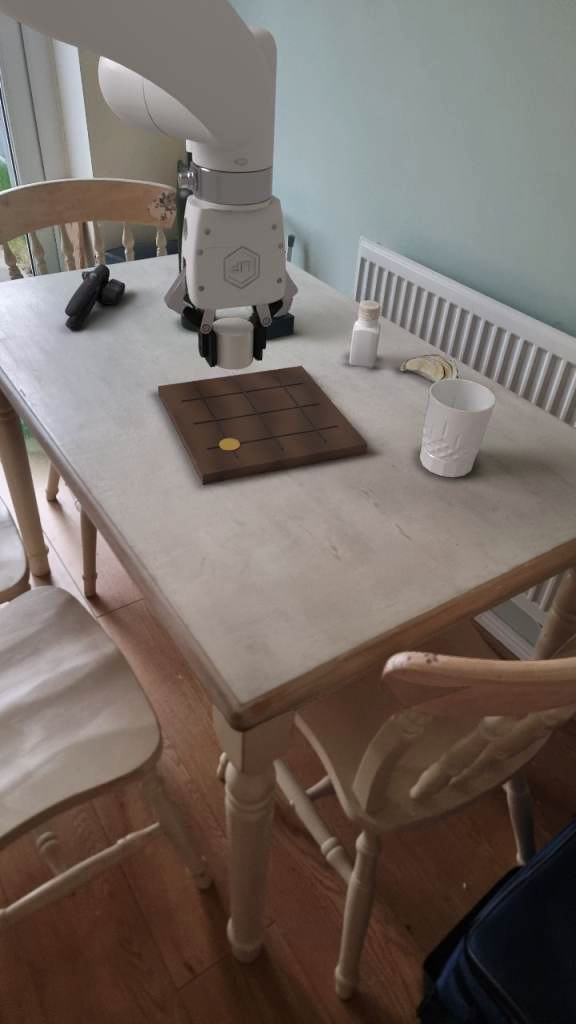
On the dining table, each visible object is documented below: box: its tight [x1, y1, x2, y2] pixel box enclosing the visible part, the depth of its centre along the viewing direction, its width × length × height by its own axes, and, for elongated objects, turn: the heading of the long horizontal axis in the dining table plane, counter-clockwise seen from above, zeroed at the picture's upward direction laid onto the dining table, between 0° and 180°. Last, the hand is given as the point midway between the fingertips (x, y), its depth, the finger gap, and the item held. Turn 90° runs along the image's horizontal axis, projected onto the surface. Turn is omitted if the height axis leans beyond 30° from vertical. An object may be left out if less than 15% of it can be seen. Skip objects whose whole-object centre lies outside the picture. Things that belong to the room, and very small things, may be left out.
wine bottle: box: [175, 139, 217, 333], centre depth 107 cm, size 6×6×30 cm
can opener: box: [64, 264, 126, 331], centre depth 117 cm, size 18×7×6 cm, turn 169°
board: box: [157, 365, 368, 485], centre depth 94 cm, size 22×22×2 cm
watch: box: [251, 269, 296, 341], centre depth 113 cm, size 6×8×11 cm
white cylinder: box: [213, 317, 254, 371], centre depth 76 cm, size 5×5×4 cm
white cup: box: [419, 378, 497, 478], centre depth 86 cm, size 8×8×10 cm
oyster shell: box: [399, 353, 459, 384], centre depth 105 cm, size 6×4×10 cm
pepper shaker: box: [348, 299, 382, 368], centre depth 107 cm, size 4×4×10 cm
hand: (232, 356), depth 77 cm, fingers closed on white cylinder, 4 cm apart
